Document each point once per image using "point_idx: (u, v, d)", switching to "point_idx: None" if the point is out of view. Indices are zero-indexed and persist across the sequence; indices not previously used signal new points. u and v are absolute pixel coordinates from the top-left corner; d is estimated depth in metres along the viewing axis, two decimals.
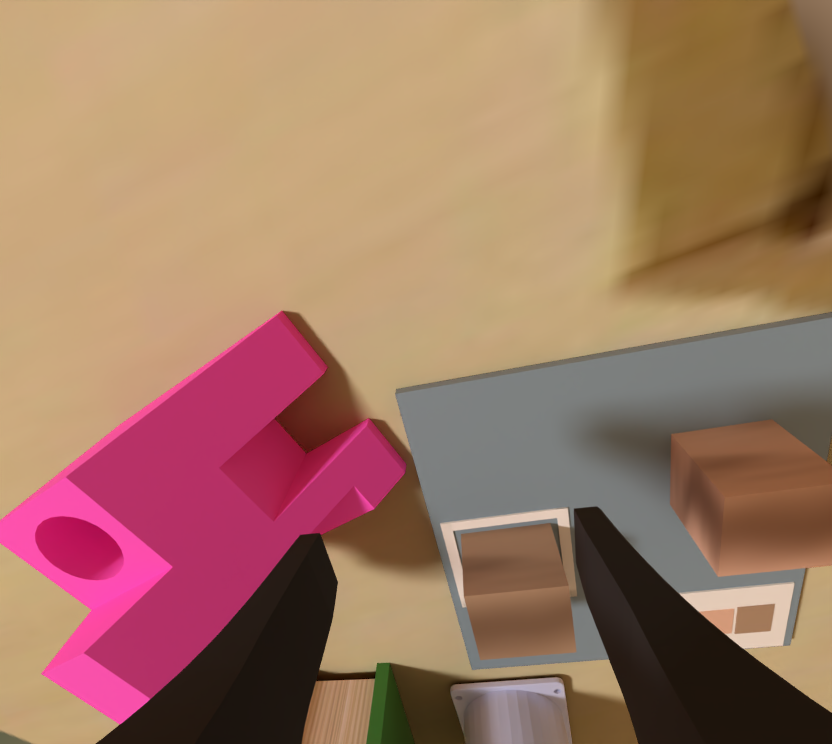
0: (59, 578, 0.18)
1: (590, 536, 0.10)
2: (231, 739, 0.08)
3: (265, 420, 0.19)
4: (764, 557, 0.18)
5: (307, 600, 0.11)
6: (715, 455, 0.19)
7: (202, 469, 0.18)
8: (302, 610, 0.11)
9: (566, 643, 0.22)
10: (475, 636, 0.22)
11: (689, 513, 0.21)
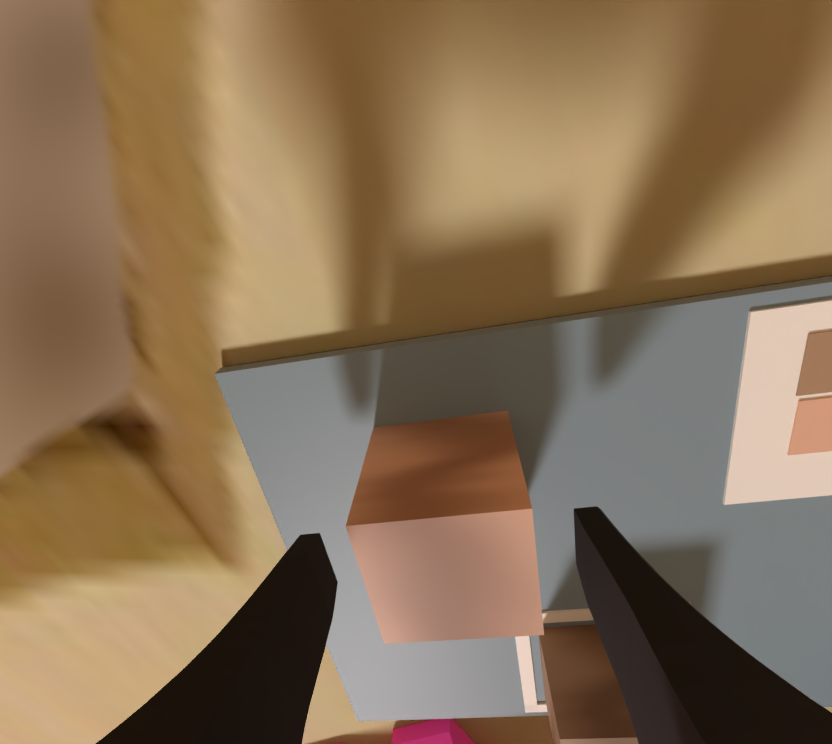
0: None
1: (590, 536, 0.10)
2: (230, 738, 0.08)
3: None
4: (505, 592, 0.11)
5: (307, 600, 0.11)
6: None
7: None
8: (302, 610, 0.11)
9: None
10: None
11: None
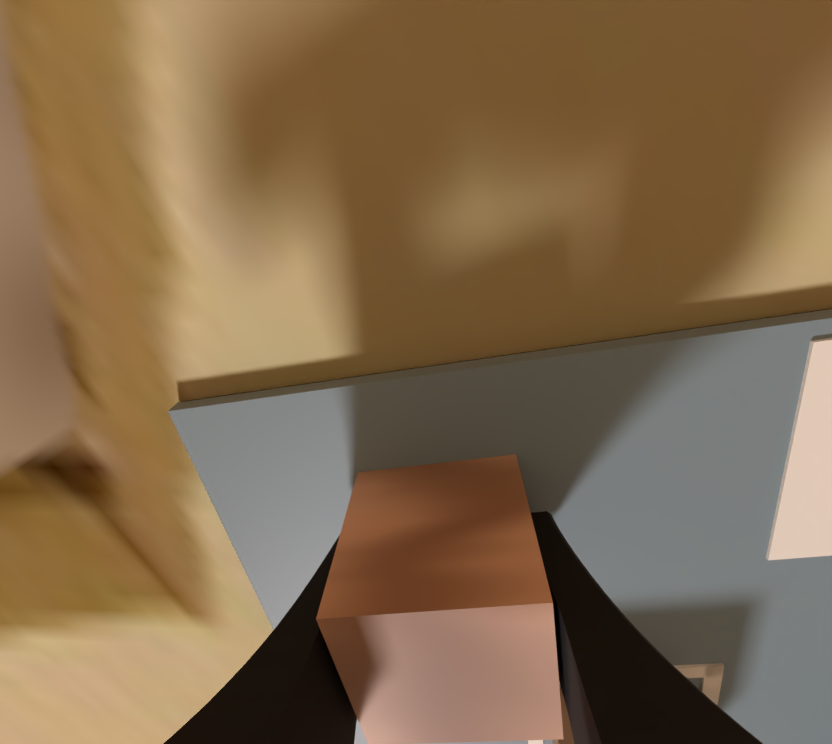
0: None
1: None
2: (299, 736, 0.08)
3: None
4: (516, 693, 0.09)
5: None
6: None
7: None
8: None
9: None
10: None
11: None
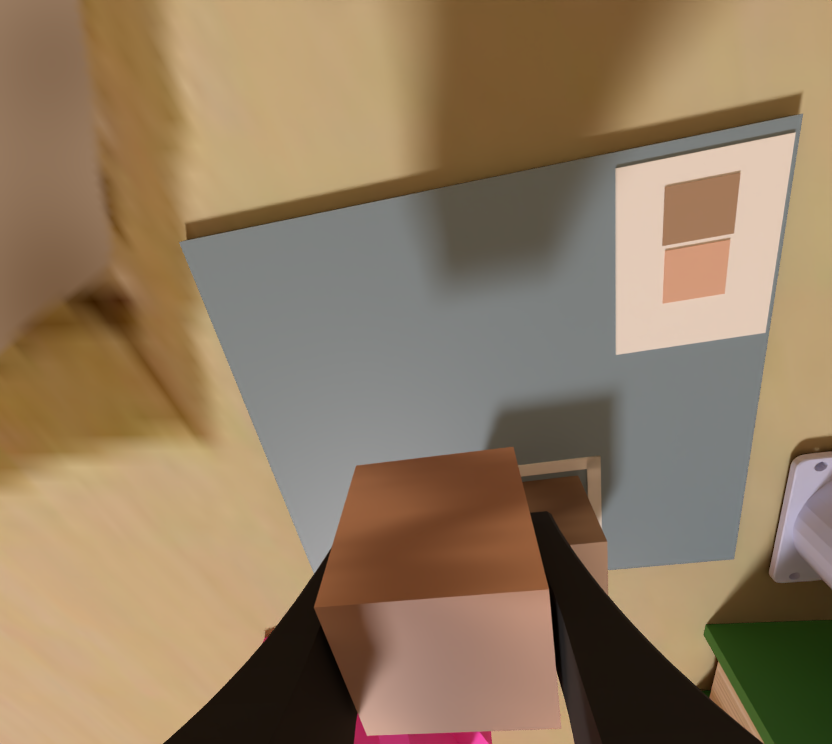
0: None
1: None
2: (299, 736, 0.08)
3: None
4: (513, 682, 0.09)
5: None
6: None
7: None
8: None
9: (587, 551, 0.17)
10: None
11: None
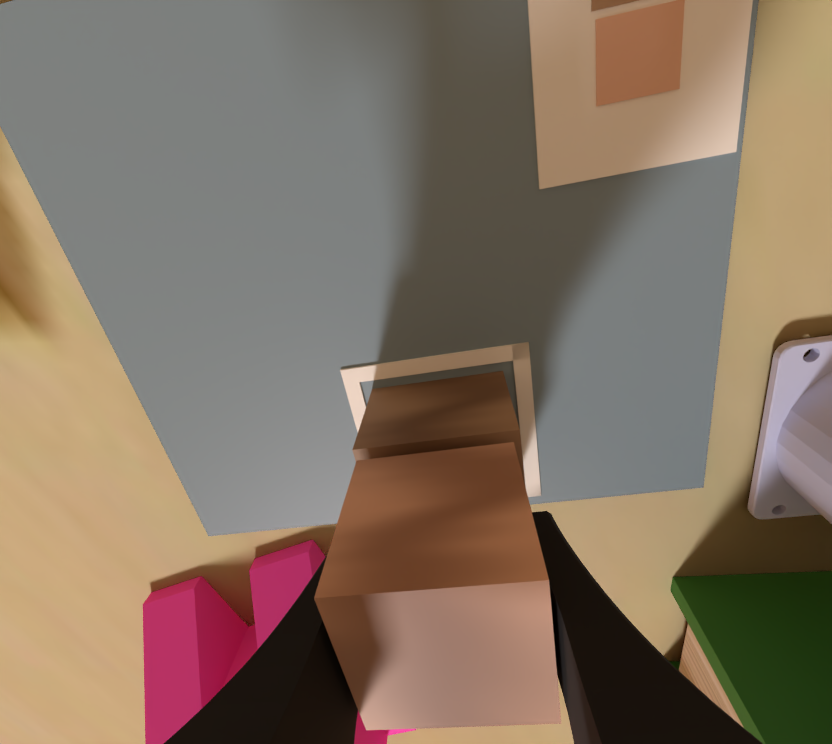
0: None
1: None
2: (299, 736, 0.08)
3: (196, 666, 0.21)
4: (513, 675, 0.09)
5: None
6: None
7: None
8: None
9: None
10: None
11: None
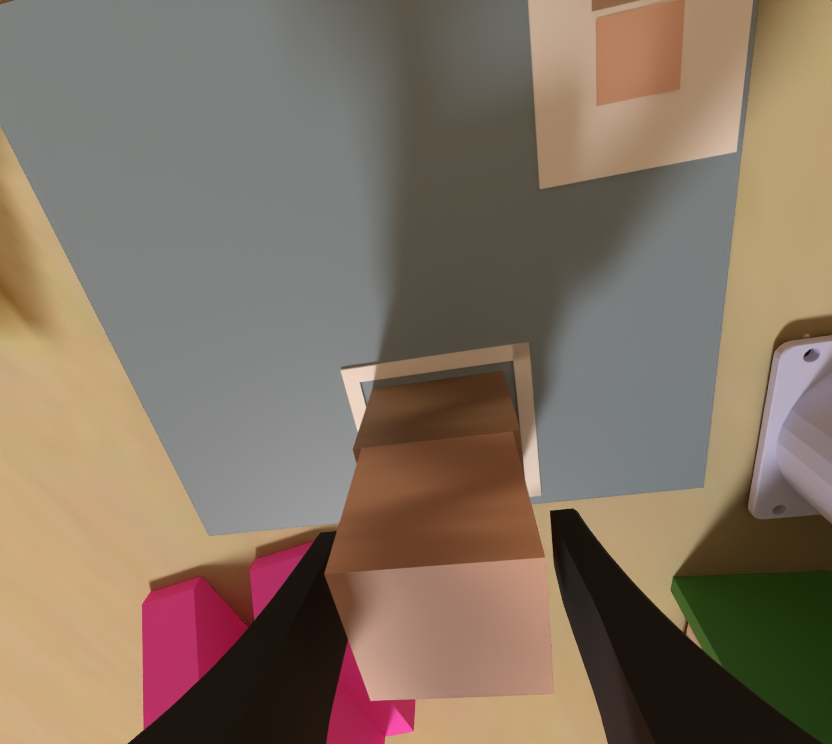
0: None
1: (563, 538, 0.10)
2: (262, 737, 0.08)
3: (195, 666, 0.21)
4: (510, 648, 0.10)
5: (330, 598, 0.11)
6: None
7: None
8: (325, 609, 0.11)
9: None
10: None
11: None
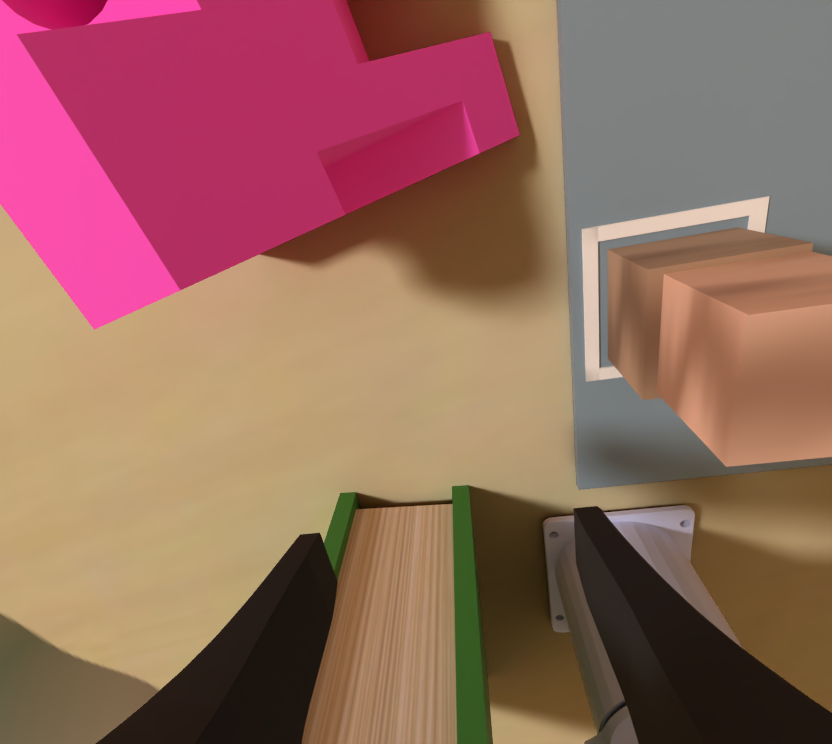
0: None
1: (590, 536, 0.10)
2: (230, 738, 0.08)
3: None
4: (801, 433, 0.12)
5: (307, 600, 0.11)
6: (730, 283, 0.13)
7: None
8: (302, 610, 0.11)
9: None
10: (646, 352, 0.16)
11: (684, 387, 0.14)
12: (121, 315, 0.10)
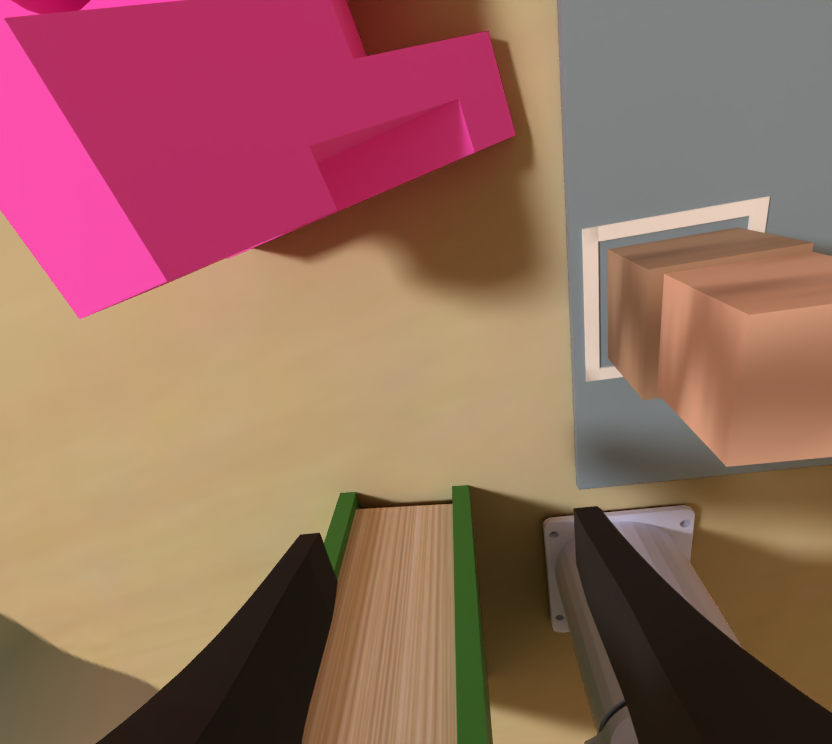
0: None
1: (590, 536, 0.10)
2: (230, 738, 0.08)
3: None
4: (802, 433, 0.12)
5: (307, 600, 0.11)
6: (730, 283, 0.13)
7: None
8: (302, 610, 0.11)
9: None
10: (647, 352, 0.16)
11: (684, 387, 0.14)
12: (107, 305, 0.10)
